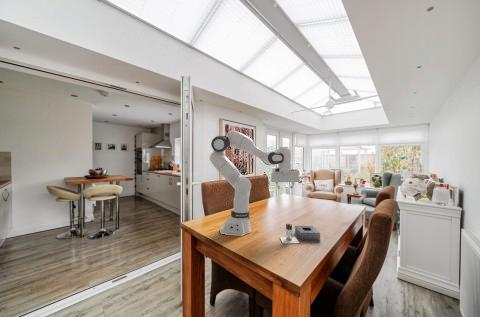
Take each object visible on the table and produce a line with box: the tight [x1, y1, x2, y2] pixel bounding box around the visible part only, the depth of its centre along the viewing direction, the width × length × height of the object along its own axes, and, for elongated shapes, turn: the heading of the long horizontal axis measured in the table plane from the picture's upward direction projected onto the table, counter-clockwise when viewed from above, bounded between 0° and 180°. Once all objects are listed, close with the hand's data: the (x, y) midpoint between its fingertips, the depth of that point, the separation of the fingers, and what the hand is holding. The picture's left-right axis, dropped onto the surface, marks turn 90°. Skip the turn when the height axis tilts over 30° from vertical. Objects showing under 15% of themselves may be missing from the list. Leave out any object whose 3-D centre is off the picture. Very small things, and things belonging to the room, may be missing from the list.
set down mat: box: [279, 236, 300, 245], centre depth 107 cm, size 10×8×1 cm
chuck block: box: [294, 225, 321, 242], centre depth 113 cm, size 12×12×5 cm
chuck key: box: [285, 223, 293, 241], centre depth 108 cm, size 4×4×9 cm
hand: (285, 188), depth 125 cm, fingers open, 8 cm apart
